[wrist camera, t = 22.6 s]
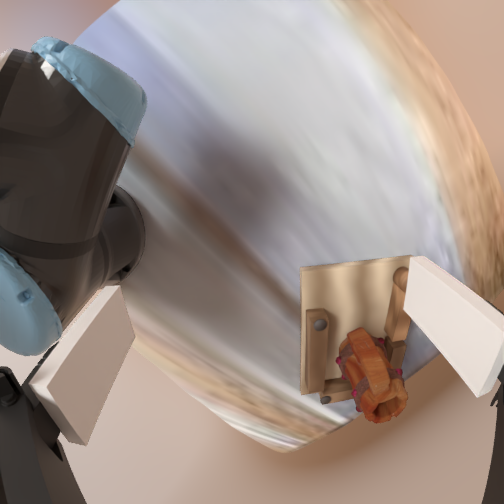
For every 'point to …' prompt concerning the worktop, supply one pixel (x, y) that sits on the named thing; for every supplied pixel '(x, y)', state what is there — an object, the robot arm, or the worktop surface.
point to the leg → (398, 307)
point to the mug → (371, 376)
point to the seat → (343, 319)
